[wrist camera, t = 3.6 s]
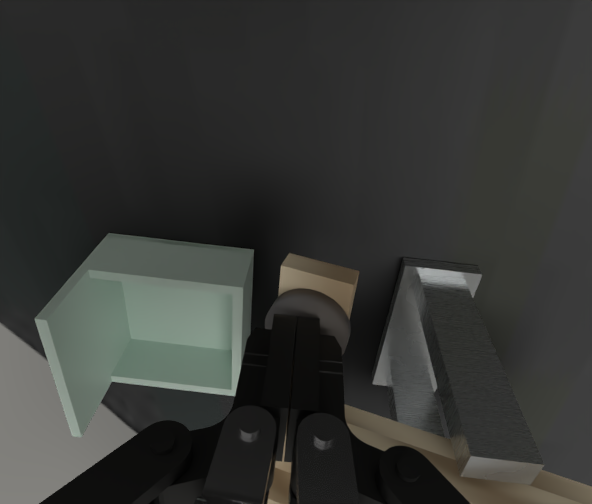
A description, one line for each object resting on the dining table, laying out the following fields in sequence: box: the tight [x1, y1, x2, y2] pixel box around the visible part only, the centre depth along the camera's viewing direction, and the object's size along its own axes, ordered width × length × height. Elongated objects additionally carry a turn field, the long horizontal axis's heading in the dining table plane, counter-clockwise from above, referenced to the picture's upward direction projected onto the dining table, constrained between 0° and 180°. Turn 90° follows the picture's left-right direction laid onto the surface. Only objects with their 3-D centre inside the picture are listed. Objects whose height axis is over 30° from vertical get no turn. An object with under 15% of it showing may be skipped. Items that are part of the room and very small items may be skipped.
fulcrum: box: [371, 257, 544, 485], centre depth 21 cm, size 4×9×11 cm, turn 175°
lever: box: [265, 253, 592, 504], centre depth 15 cm, size 16×12×3 cm
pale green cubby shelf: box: [35, 233, 254, 437], centre depth 23 cm, size 8×8×7 cm
